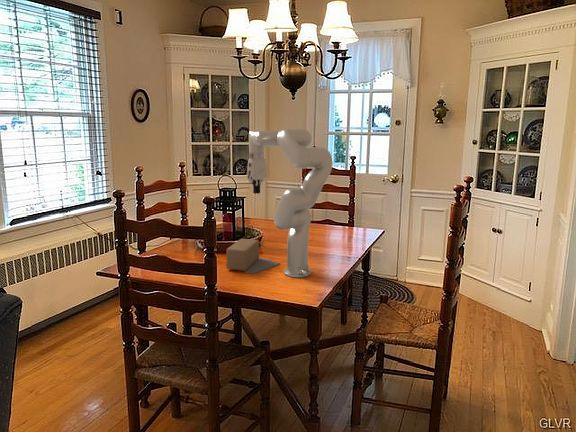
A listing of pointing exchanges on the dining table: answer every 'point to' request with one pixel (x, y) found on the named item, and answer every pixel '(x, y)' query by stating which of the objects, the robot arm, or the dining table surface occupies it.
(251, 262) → the wooden block
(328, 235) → the dining table surface
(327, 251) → the dining table surface
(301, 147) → the robot arm
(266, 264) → the mat
